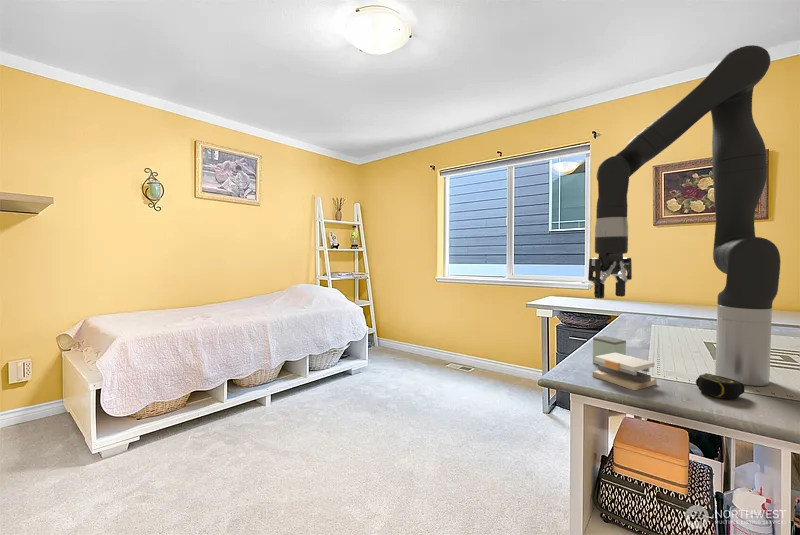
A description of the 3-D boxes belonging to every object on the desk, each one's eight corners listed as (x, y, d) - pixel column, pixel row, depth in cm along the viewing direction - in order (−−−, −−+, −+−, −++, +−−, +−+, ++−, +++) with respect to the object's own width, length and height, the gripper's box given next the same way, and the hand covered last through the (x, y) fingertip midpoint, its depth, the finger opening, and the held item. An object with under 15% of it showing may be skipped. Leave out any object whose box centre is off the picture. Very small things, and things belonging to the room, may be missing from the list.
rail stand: (613, 371, 91) (613, 361, 91) (656, 384, 82) (656, 373, 82) (592, 376, 87) (592, 366, 87) (634, 390, 78) (634, 379, 78)
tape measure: (746, 398, 74) (746, 380, 74) (731, 404, 71) (732, 386, 71) (705, 387, 80) (706, 370, 80) (690, 393, 77) (690, 375, 77)
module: (603, 360, 100) (604, 335, 100) (625, 367, 95) (625, 340, 94) (592, 363, 98) (593, 337, 98) (614, 369, 92) (614, 342, 92)
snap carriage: (614, 360, 90) (615, 352, 90) (654, 371, 82) (654, 362, 82) (592, 365, 87) (592, 356, 87) (631, 377, 78) (631, 367, 78)
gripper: (607, 234, 88) (606, 300, 89) (642, 235, 95) (641, 297, 95) (580, 235, 95) (579, 297, 96) (614, 236, 101) (613, 294, 102)
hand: (610, 297), depth 95 cm, fingers open, 8 cm apart
